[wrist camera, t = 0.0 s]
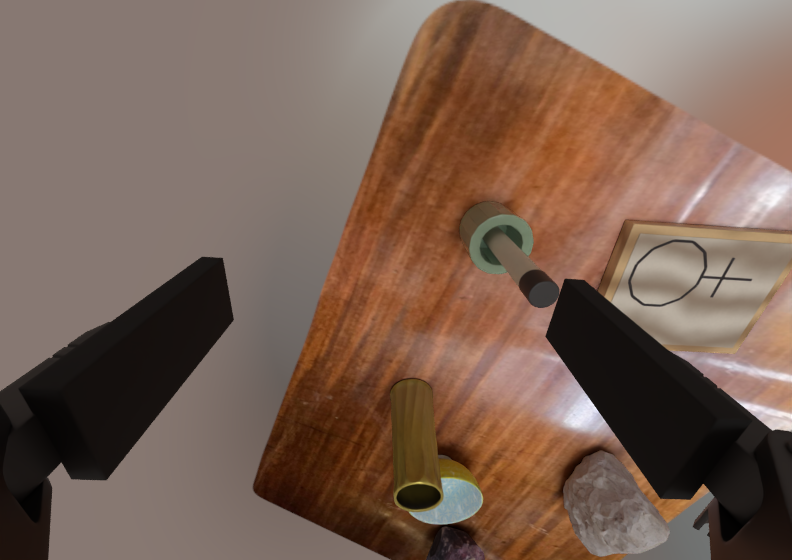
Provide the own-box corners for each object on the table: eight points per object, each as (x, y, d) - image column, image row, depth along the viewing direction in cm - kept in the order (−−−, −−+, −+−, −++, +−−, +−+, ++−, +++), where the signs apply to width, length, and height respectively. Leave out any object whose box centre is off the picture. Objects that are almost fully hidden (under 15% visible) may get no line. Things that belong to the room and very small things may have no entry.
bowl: (479, 440, 51) (490, 480, 45) (467, 485, 56) (475, 526, 50) (407, 438, 51) (409, 477, 45) (402, 483, 56) (403, 524, 50)
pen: (479, 219, 35) (533, 280, 22) (499, 221, 35) (563, 282, 22) (476, 238, 36) (525, 307, 22) (495, 239, 36) (554, 309, 23)
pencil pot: (463, 199, 34) (475, 212, 29) (519, 203, 35) (540, 216, 30) (455, 252, 37) (464, 272, 32) (507, 255, 37) (524, 276, 32)
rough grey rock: (597, 519, 57) (674, 619, 42) (546, 518, 57) (606, 618, 42) (613, 435, 55) (701, 509, 40) (560, 432, 55) (630, 506, 40)
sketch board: (625, 219, 35) (635, 224, 34) (798, 231, 36) (815, 236, 35) (578, 339, 42) (585, 347, 41) (724, 346, 43) (736, 354, 42)
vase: (439, 399, 47) (458, 503, 34) (403, 415, 48) (407, 521, 35) (419, 371, 45) (430, 472, 32) (381, 388, 46) (377, 492, 33)
